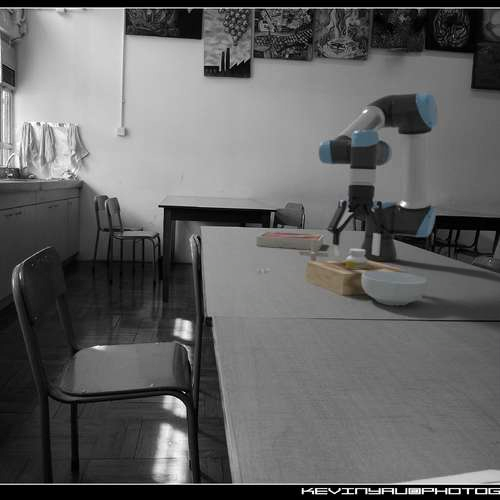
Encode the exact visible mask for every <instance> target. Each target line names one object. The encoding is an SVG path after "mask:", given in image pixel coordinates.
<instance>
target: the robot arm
mask: <svg viewBox="0 0 500 500" xmlns="http://www.w3.org/2000/svg"><path fill="white" fill-rule="evenodd" d="M437 122H438V107H437V102H436V100H435V97H434V96H433V95H432V94H430V93H419V92H417V93H406V94H405V93H404V94H403V93H401V94H389V95H384V96H382V97H380V98H378V99H375V100H374V101H372V102H371V103H369V104H367V105H366V106H365V107H364V108H362V110H361V111H360V113H359V116H358V117H357V118H355V120H354V121H353V122H352V123H350V124H349V126H347V127H346V128H345V129H344V130H343V131H341V133H340V134H339V135H338V136H336V137H335V138H334V139H327V140H326V139H325V140H323V141H321V142H320V144H319V147H318V158H319V160H320V162H321V163H322V164H328V165H329V164H330V165H349V180H348V181H349V183H350V184H349V185H348V192H347V196H348V200H343V199H340V200H338V204H337V209H336V210H335V213H334V214H333V216H332V219H331V221H330V222H329V224H328V226H327V232H330V233H332V245H333V246H334V248H333V256H335V257H339V258H340V257H342V251H343V249H342V247H343V234H342V232H343V230H344V229H345V228H346V227H347V226H348V224H349V223H350V221H352V219H353V218H355V217H361V216H362V217H365V225H364V227H365V228H364V239H363V241H362V244H361V247H360V249H363V250H365V255H364V257H365V258H366V259H367V260H369V261H373V262H395V261H397V259H398V253H397V249H396V245H395V236H397V235H398V236H405V237H414V238H427V237H429V235H431V233H432V231H433V228H434V225H435V220H436V217H437V216H436V215H437V211H436V208H435V207H432V204H431V200H430V199H428V198H427V190H428V189H427V187H428V186H427V183H428V179H427V177H428V174H427V173H428V136H429V135H430V134H431V133H432V130H433V128H434V127H436V125H437ZM384 128H385V129H386V128H391V129H392V128H393V129H394V128H395V129H397V131H398V135H399V136H400V137H401V138H402V193H403V194H402V197H403V198H402V199H401V200H400V201H399V205H398V203H397V202H396V201H388V202H387V201H386V202H384V201H383V202H382V201H380V200H374V198H375V185H374V184H375V183H376V179H377V178H376V177H377V176H376V175H377V166H378V167H381V166H384V165H386V164H388V163H389V162H390V160H391V159H392V156H393V150H392V147H391V146H390V144H389V143H387V142H385V141H383V140H380V139H379V132H378V131H380V130H382V129H384ZM347 208H348V209H347ZM346 209H347V210H346Z"/></svg>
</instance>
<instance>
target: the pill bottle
mask: <svg viewBox="0 0 500 500" xmlns="http://www.w3.org/2000/svg"><path fill="white" fill-rule="evenodd" d="M364 255H365V250H363V249H361V248H349V256H347V257H346V259H345V260H346V266H347V267H350V268H367V259H366V258H365V257H364Z"/></svg>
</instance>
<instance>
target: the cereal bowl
mask: <svg viewBox="0 0 500 500" xmlns="http://www.w3.org/2000/svg"><path fill="white" fill-rule="evenodd" d="M361 282H362V287H363V289H364V291H365V292H366V293H367V294H366V295H368V296H369V297H371V298H372V299H373V300H375V301H376V302H377V303H378V304H381V305H382V304H383V305H385V306H386V305H388V306H393V305H394V306H395V305H396V306H395V307H397V306H398V307H400V306H399V305H403V306H406V305H407V304H409V303H413V302H416V301H418V300H420V299H421V298H422V297H424V295H425V293H426V290H427V284H428V280H427V278H425V277H422V276H419V275H416V274H411V273H407V274H406V273H399V272H390V271H367V272H364V273H362V278H361Z"/></svg>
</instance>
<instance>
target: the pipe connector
mask: <svg viewBox="0 0 500 500" xmlns="http://www.w3.org/2000/svg"><path fill="white" fill-rule="evenodd" d="M299 256H307V257H310V262H312V261H317V257H320V258H321V257H323V258H324V257H325V258H328V257H329V252H328V251H322V250H321V251H320V250H317V240H312V249H311V250H306V249H299Z"/></svg>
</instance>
